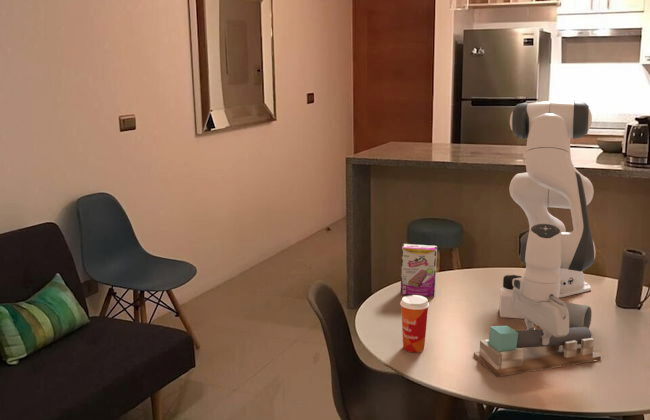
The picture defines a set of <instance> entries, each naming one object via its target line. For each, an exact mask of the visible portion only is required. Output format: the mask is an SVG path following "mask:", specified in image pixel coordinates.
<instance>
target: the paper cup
mask: <svg viewBox="0 0 650 420" xmlns="http://www.w3.org/2000/svg"><path fill="white" fill-rule="evenodd" d="M401 298H402V299H401V301H400V302H399V304H400V307H401V327H402V329H401V330H402V331H401V332H402V346H403V347H402V348H403V350H404V351H406V352H408V353H413V354H415V353H416V354H417V353H421V352H423V351H424V350H425V344H426V333H427V324H428V311H429V307H430V302H429V300H428V297H424V296H419V295H412V296H411V295H406V296H403V297H401Z"/></svg>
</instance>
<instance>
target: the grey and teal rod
mask: <svg viewBox="0 0 650 420" xmlns="http://www.w3.org/2000/svg"><path fill="white" fill-rule="evenodd" d="M535 329H536V328H535ZM543 335H544V333H543V329H542V328H539V329H538V328H537V329H536V330H527V329H519V330H515V329H513V328H512V327H510V326H509V325H496V326H494V325H493V326H489V335H488V339H489V341H488V344H489V345H490V346H492V347H493V348H494V349H495V350H497V351H498V352H499V353H500V352H505V351H512V350H516V348H527V347H543V346H560V345H565V342H567V341H574V340H575V341H577V344H581V339H587V338H592V332H591V331H590V328H589V329H588V328H587V327H575V328H569V333H568V334H567V336H564V337H554V336H553V335H552V336H551V337H550V338H549V344H548V345H543V344H541V343H540V337H542V336H543Z"/></svg>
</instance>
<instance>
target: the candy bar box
mask: <svg viewBox="0 0 650 420" xmlns="http://www.w3.org/2000/svg"><path fill="white" fill-rule="evenodd" d="M437 252H438V245H429V244H428V245H427V244H415V243H414V244H413V243H403V244H402V247H401V268H400V271H401V272H400V296H410V295H411V296H412V295H419V296H423V297H425V298H434V297H435V293H436V279H437V277H436V276H437V258H438V257H437V255H438V253H437Z"/></svg>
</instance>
